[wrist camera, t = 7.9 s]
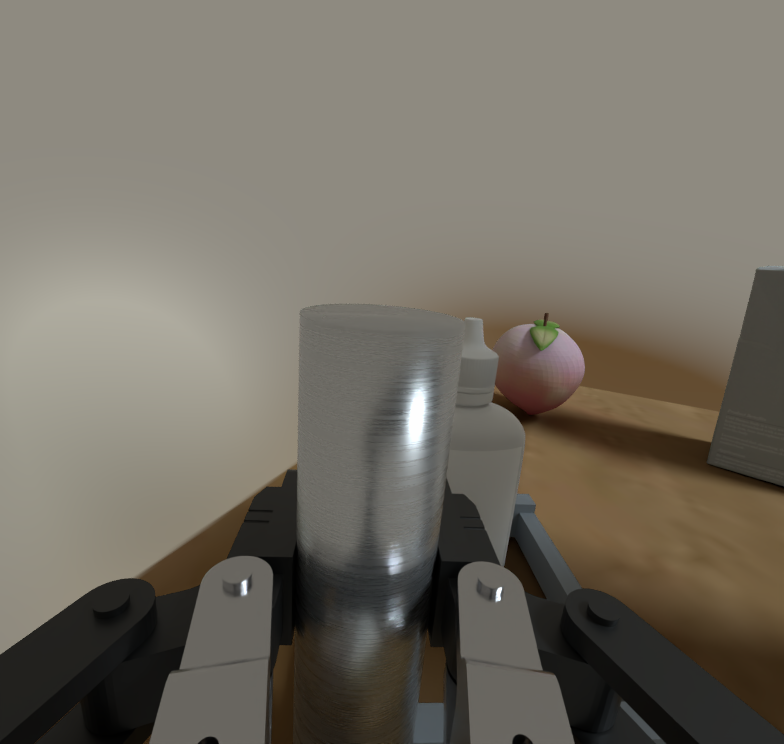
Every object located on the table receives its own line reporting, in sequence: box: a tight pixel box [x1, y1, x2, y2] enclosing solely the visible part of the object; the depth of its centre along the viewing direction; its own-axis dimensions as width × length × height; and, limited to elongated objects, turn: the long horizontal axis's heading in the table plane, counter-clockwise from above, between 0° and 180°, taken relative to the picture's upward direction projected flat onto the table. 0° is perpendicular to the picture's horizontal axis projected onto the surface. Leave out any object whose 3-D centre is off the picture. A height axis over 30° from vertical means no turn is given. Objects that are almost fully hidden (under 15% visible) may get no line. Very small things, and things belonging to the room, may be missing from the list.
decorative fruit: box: [492, 313, 585, 415], centre depth 40 cm, size 9×8×10 cm
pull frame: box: [293, 304, 666, 744], centre depth 15 cm, size 11×14×13 cm
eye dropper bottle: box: [446, 318, 525, 567], centre depth 19 cm, size 4×6×12 cm
